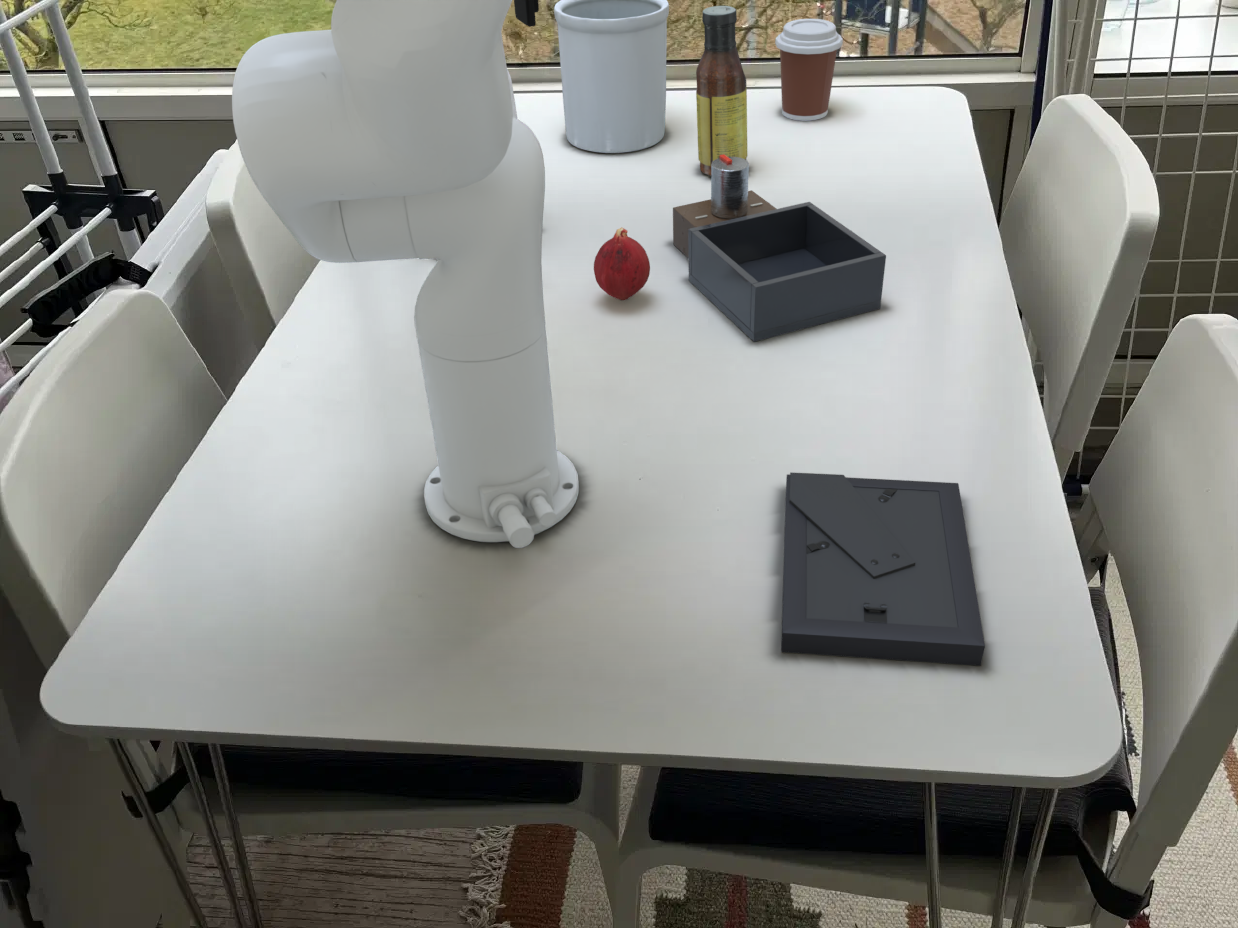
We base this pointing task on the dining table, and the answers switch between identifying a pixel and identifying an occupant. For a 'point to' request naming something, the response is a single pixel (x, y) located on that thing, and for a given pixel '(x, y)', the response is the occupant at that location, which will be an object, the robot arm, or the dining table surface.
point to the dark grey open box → (785, 270)
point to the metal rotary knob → (729, 187)
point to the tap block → (706, 217)
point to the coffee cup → (807, 67)
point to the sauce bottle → (720, 91)
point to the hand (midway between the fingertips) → (473, 32)
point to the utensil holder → (613, 72)
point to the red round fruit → (621, 266)
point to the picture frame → (878, 571)
